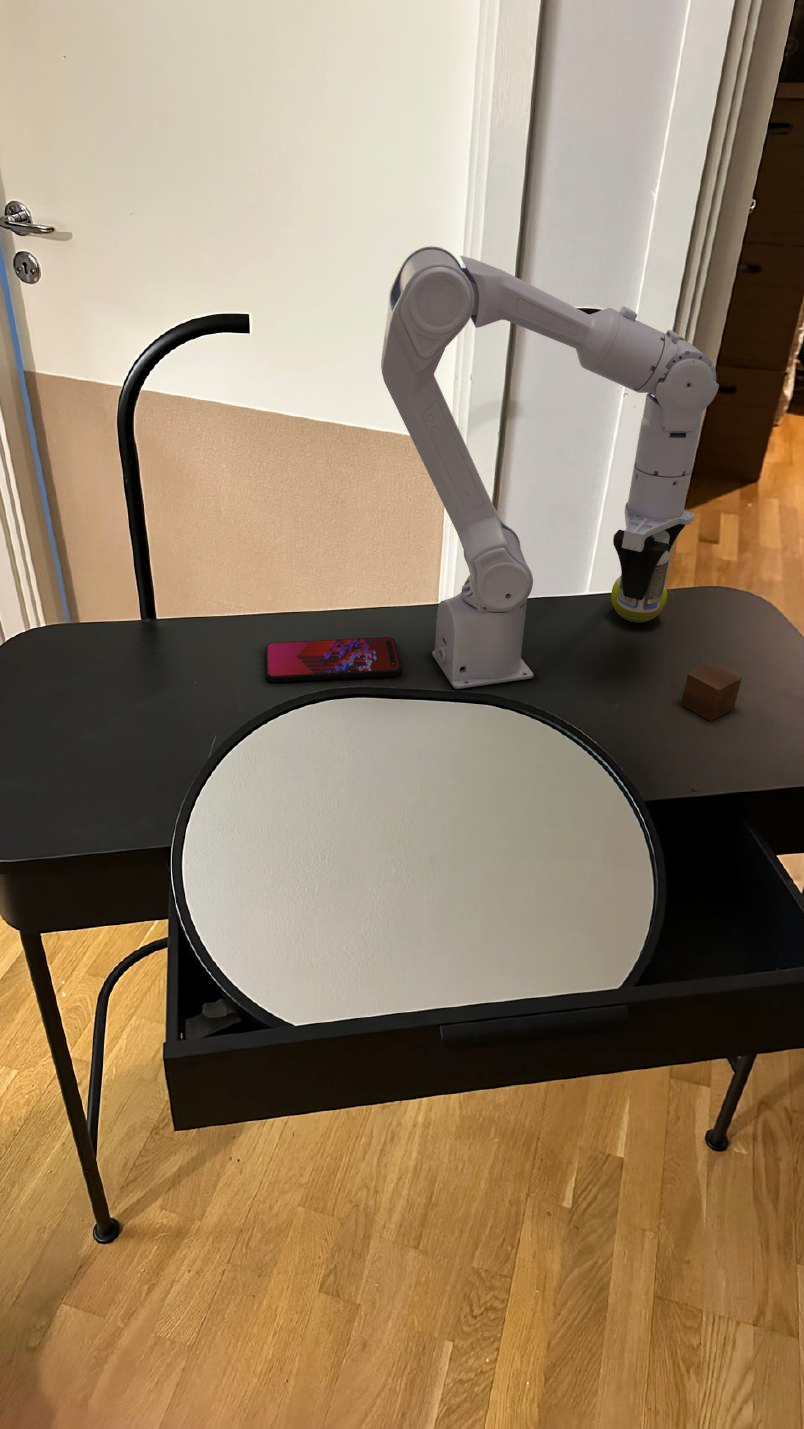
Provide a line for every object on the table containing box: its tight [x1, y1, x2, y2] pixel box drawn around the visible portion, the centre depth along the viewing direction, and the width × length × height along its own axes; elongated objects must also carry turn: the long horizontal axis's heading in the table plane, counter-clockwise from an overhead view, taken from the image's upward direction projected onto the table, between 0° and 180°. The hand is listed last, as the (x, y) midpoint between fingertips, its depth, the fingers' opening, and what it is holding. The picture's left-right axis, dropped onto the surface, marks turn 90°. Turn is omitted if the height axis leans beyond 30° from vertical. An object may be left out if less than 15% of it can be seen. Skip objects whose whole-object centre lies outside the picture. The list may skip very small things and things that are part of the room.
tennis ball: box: [610, 575, 668, 624], centre depth 121 cm, size 7×7×7 cm
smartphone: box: [265, 636, 402, 683], centre depth 111 cm, size 8×1×15 cm
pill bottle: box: [618, 530, 670, 613], centre depth 106 cm, size 5×5×8 cm
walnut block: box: [680, 662, 742, 722], centre depth 105 cm, size 4×4×4 cm
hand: (640, 587), depth 107 cm, fingers closed on pill bottle, 5 cm apart
